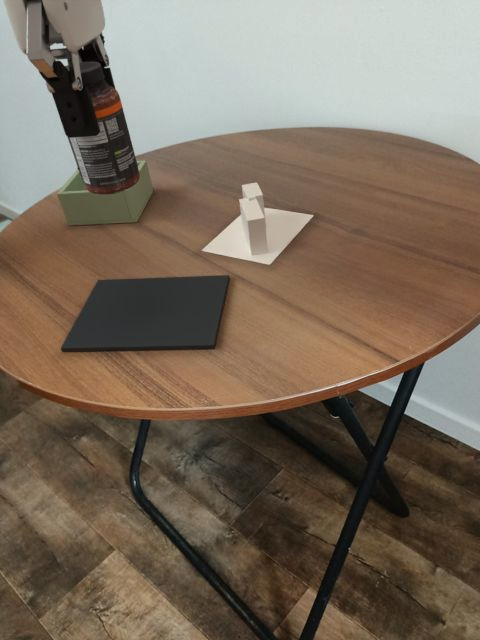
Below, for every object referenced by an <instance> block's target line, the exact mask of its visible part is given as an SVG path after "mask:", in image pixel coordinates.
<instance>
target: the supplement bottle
mask: <svg viewBox="0 0 480 640" xmlns="http://www.w3.org/2000/svg"><path fill="white" fill-rule="evenodd" d="M79 65H80V72H81V78H82V84H83V88H86V87H88V90H89V93H90V97H91V100H92V104H93V107H94V110H95V114H96V117H97V121H98V124H99V128H100V133H99V134H98V135H97V136H88V137H74V138H69V137H67V140H68V143H69V145H70V148H71V152H72V154H73V158H74V160H75V163H76V164H75V165H76V166H77V168H76V170H77V169H78V170H79V173H80V176H81V179H82V181H83V184H84V186H85V188H86V190H88V191H89V192H91V193H94V194H100V195H105V194H115V193H119V192H122V191H124V190H127V189H129V188H131V187H133V186H134V185H135V184H136V183H137V182H138V181H139V178H140V173H139V169H138V165H137V161H138V160H137V158H136V154H135V150H134V147H133V142H132V140H131V139H132V138H131V135H130V131H129V130H130V129H129V127H128V123H127V120H126V119H127V118H126V116H125V111H124V108H123V104H122V100H121V97H120V94H119V92H118V90H117V89H116V87H115V88H113V87H111V86H109V85H108V84H107V82H106V81H105V80H104V78H105V76H104V74H103V71H102V67H101V64H100V63H98V62H81V63H79ZM64 66H65V67H66V68H67V70H68V71H69V68H68V64H67V65H64Z"/></svg>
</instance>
